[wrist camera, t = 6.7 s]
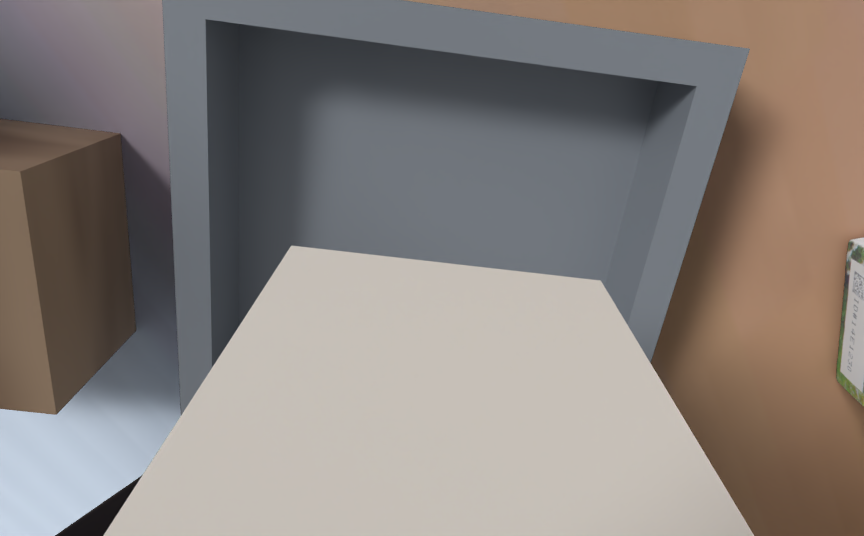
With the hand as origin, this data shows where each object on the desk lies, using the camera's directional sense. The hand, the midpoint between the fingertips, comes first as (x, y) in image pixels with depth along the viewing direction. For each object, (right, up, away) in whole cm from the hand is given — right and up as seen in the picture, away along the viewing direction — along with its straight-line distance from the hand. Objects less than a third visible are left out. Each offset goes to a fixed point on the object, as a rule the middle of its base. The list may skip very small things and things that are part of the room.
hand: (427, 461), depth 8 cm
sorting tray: (0, +4, +12) cm, 12 cm away
